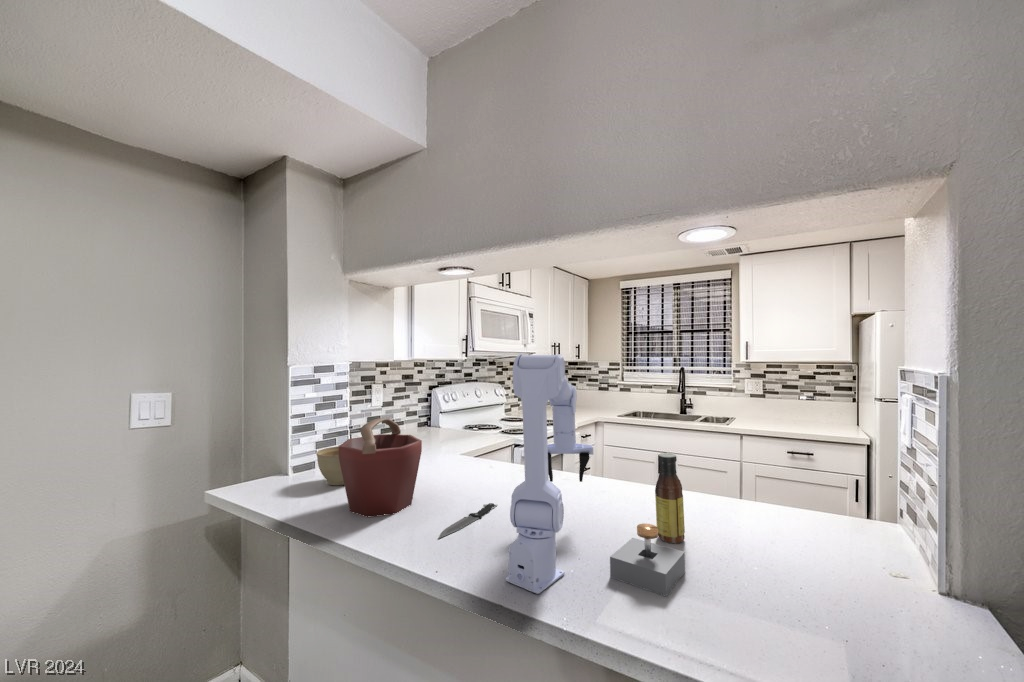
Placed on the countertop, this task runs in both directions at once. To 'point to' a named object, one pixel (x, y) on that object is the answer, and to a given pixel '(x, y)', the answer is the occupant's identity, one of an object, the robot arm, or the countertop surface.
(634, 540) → the block
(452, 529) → the knife
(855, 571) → the countertop surface
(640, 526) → the plunger
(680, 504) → the sauce bottle
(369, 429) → the bucket
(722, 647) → the countertop surface
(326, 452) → the planter bowl
